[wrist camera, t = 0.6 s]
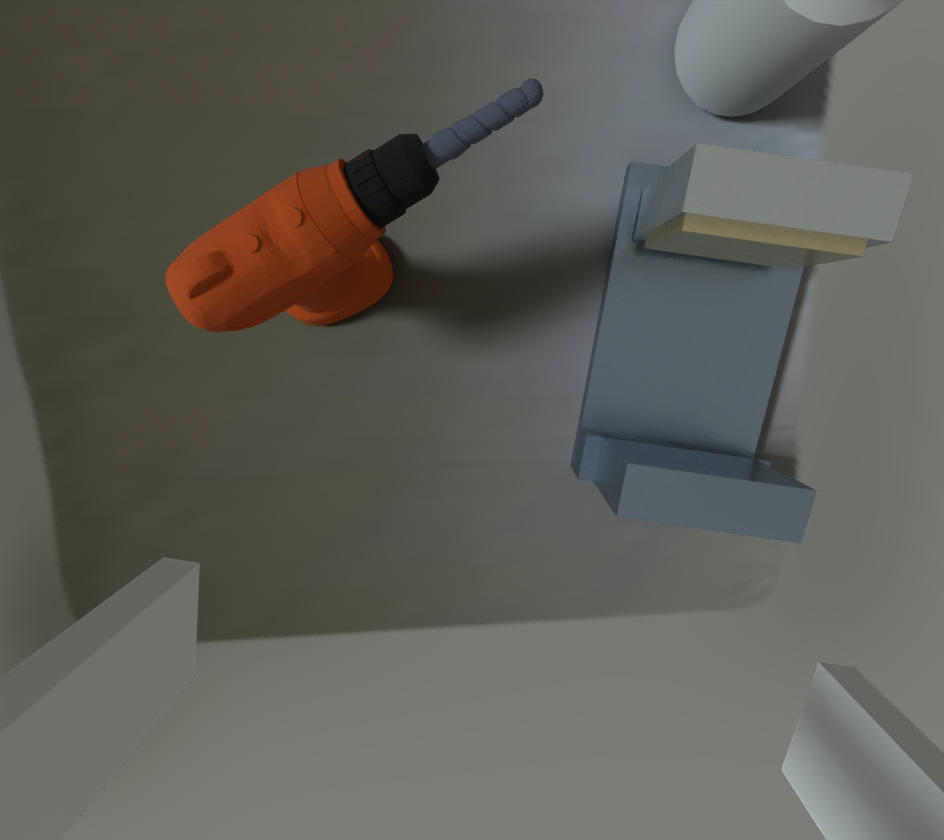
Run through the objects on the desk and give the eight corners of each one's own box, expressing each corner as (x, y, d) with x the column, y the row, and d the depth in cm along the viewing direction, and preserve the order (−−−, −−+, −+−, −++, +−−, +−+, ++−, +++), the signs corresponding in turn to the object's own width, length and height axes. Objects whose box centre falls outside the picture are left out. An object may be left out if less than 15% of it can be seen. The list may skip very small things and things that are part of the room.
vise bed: (626, 166, 31) (681, 106, 23) (814, 193, 31) (941, 142, 23) (570, 465, 35) (598, 513, 27) (736, 490, 35) (819, 545, 26)
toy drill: (560, 203, 31) (572, 124, 16) (315, 338, 35) (155, 370, 21) (526, 126, 30) (507, -28, 15) (280, 274, 34) (89, 262, 20)
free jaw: (643, 189, 31) (696, 143, 23) (803, 211, 30) (913, 173, 23) (631, 249, 31) (679, 225, 23) (788, 271, 31) (889, 255, 23)
